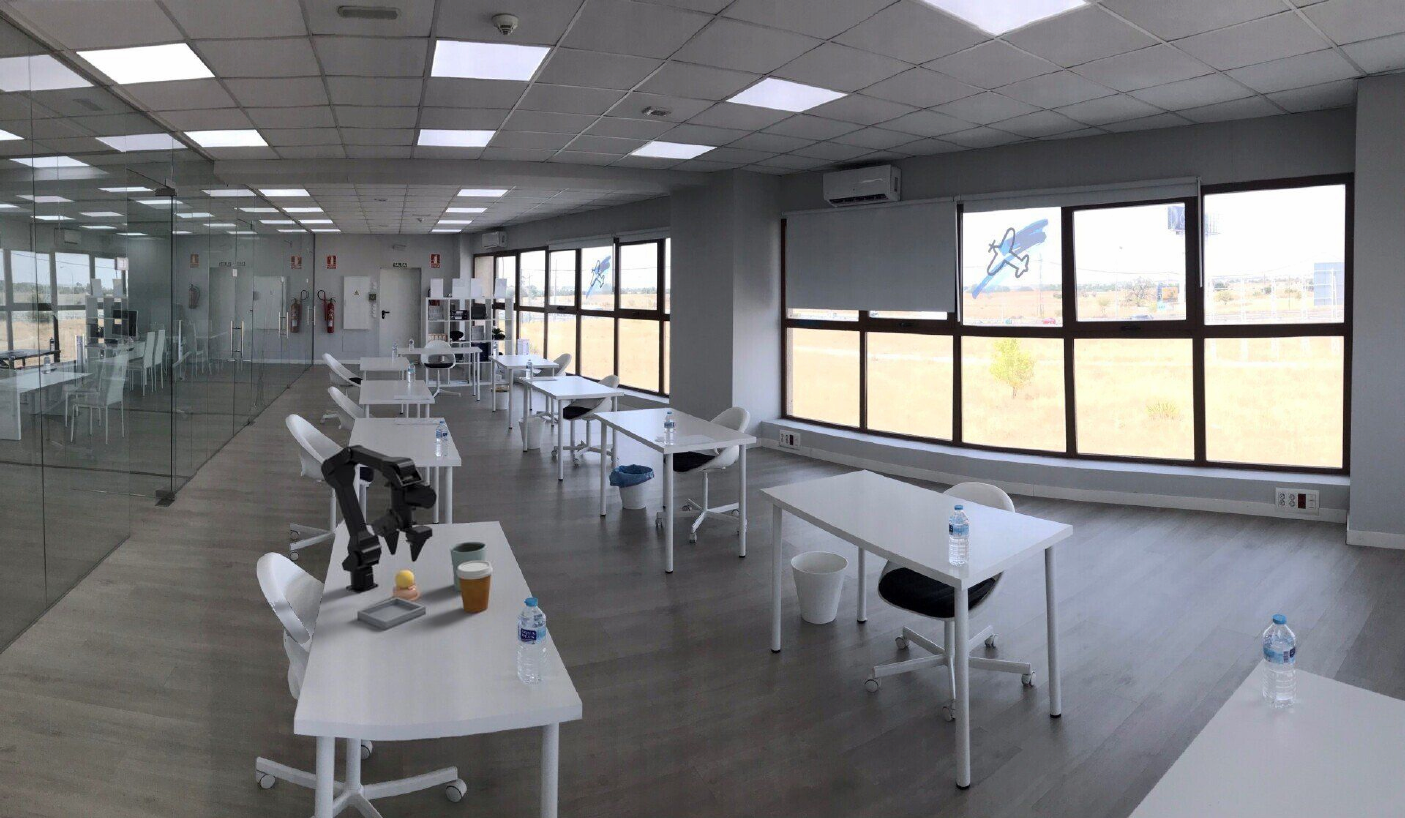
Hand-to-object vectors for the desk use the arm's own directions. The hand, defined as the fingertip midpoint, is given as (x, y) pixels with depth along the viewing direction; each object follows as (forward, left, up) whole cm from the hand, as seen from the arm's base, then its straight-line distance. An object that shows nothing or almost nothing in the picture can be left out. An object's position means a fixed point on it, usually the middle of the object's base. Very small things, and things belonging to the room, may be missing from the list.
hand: (403, 557), depth 208 cm
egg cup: (0, 0, -12) cm, 12 cm away
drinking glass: (+8, +16, -12) cm, 22 cm away
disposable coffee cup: (+22, +6, -12) cm, 26 cm away
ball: (0, 0, -9) cm, 9 cm away
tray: (+8, -10, -12) cm, 17 cm away
